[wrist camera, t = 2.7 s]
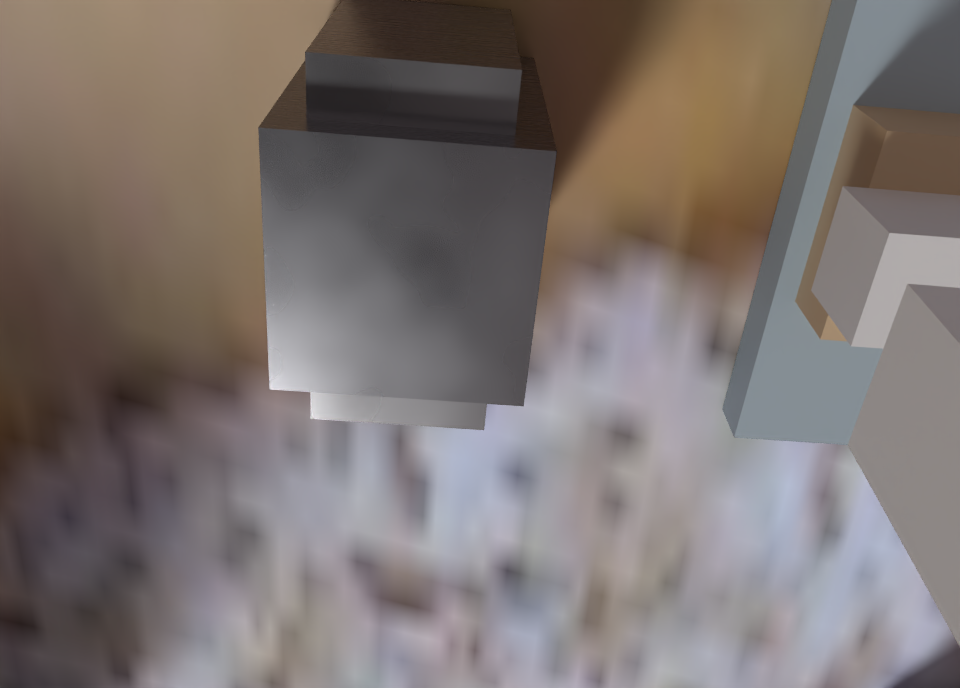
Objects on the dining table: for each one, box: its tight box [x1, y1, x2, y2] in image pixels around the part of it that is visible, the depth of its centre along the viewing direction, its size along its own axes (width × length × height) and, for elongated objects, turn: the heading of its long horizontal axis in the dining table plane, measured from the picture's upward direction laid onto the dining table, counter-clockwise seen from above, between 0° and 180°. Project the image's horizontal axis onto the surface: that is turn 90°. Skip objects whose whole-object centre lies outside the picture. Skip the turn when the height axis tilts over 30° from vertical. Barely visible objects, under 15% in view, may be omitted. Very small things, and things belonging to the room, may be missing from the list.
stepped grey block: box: [259, 0, 557, 430], centre depth 17 cm, size 7×4×6 cm
